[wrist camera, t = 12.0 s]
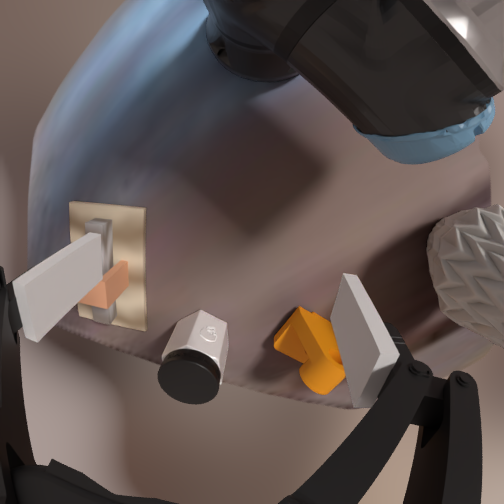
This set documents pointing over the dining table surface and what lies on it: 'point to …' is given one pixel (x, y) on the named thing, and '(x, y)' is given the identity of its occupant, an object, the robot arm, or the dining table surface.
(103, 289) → the clip
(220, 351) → the jar
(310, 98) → the dining table surface
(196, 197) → the dining table surface
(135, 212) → the rail board
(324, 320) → the bracket
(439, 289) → the vase
